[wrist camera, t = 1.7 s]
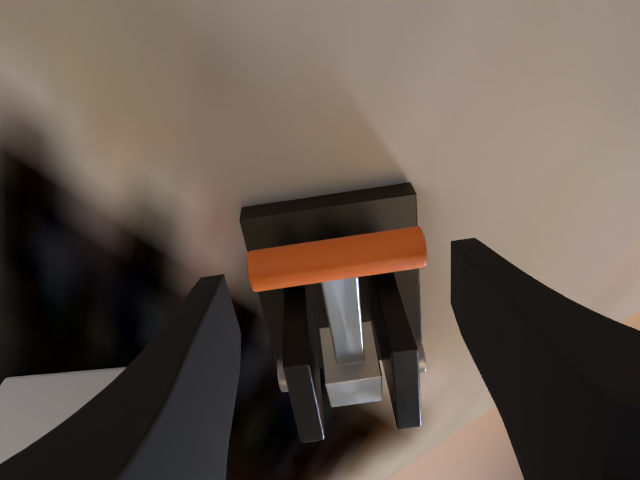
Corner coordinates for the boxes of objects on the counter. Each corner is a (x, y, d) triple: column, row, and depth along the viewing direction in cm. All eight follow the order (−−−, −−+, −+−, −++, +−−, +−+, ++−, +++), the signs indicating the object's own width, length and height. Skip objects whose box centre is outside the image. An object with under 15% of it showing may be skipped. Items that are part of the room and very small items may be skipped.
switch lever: (245, 226, 15) (247, 297, 13) (414, 201, 15) (434, 270, 13) (294, 359, 23) (298, 412, 21) (403, 343, 23) (415, 396, 21)
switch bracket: (240, 207, 23) (223, 315, 17) (410, 181, 23) (461, 281, 17) (278, 359, 29) (277, 488, 22) (417, 339, 28) (457, 463, 22)
